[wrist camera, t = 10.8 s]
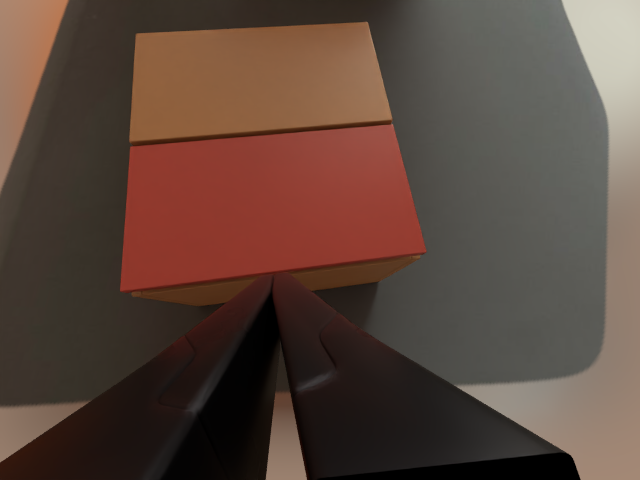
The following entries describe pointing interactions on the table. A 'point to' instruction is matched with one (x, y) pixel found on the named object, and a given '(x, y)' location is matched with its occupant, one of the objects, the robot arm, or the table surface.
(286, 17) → the table surface
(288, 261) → the flap
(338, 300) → the table surface
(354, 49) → the carton
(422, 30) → the table surface
